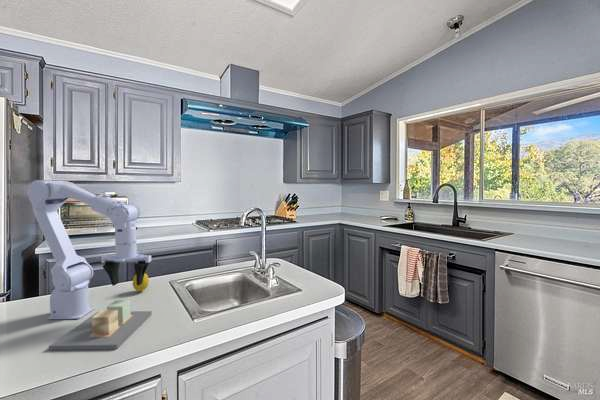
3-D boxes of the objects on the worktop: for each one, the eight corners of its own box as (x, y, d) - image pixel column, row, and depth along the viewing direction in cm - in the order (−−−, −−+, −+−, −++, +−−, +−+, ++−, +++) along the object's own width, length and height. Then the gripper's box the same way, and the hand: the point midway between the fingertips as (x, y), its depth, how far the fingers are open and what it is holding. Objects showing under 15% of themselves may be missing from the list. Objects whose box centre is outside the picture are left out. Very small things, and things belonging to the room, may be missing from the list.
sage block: (107, 323, 85) (107, 306, 85) (116, 316, 89) (115, 300, 89) (123, 322, 85) (122, 306, 85) (130, 315, 90) (130, 300, 89)
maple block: (92, 335, 78) (91, 317, 78) (102, 326, 83) (102, 310, 83) (109, 334, 79) (108, 317, 78) (118, 326, 83) (117, 309, 83)
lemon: (144, 288, 116) (144, 268, 115) (151, 291, 113) (151, 271, 112) (130, 292, 111) (129, 272, 111) (137, 295, 108) (136, 275, 108)
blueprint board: (49, 350, 74) (48, 345, 73) (97, 315, 92) (97, 311, 92) (117, 349, 74) (116, 344, 74) (151, 314, 93) (151, 310, 93)
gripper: (94, 245, 86) (95, 289, 87) (143, 245, 87) (144, 288, 88) (108, 240, 93) (110, 281, 94) (153, 240, 94) (155, 280, 95)
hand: (127, 284), depth 92 cm, fingers open, 7 cm apart
